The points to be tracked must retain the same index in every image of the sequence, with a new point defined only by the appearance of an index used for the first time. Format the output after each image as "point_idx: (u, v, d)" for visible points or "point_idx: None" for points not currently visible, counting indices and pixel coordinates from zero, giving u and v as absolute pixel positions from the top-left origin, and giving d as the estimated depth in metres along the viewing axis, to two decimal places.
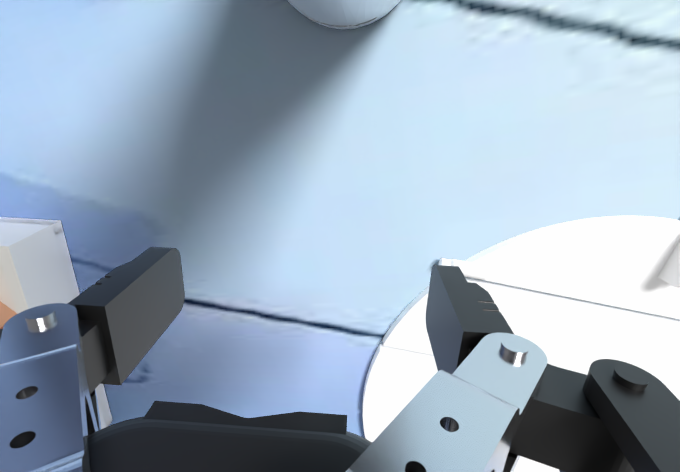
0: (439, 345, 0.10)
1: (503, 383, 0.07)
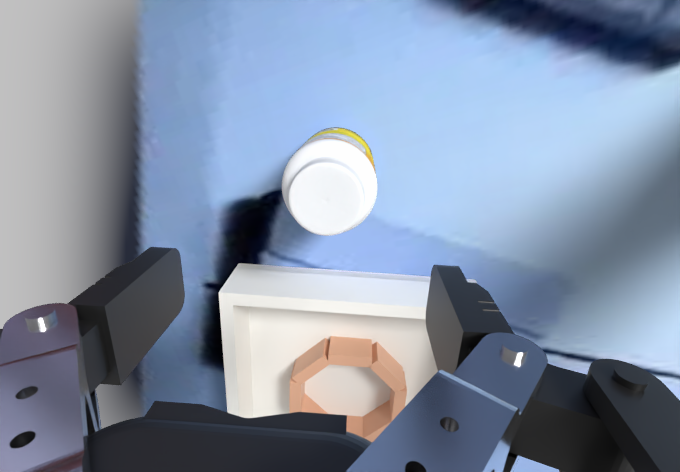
0: (439, 345, 0.10)
1: (503, 383, 0.07)
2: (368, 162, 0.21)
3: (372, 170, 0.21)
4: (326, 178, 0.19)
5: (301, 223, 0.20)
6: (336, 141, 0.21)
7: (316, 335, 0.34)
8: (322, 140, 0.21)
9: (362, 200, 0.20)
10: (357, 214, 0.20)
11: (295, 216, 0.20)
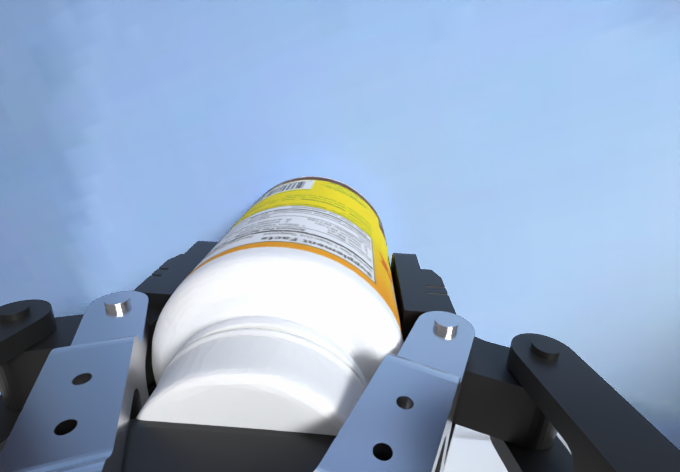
0: None
1: (442, 356, 0.07)
2: (383, 313, 0.08)
3: (394, 333, 0.08)
4: (244, 419, 0.06)
5: None
6: (291, 259, 0.07)
7: None
8: (252, 254, 0.07)
9: None
10: None
11: None
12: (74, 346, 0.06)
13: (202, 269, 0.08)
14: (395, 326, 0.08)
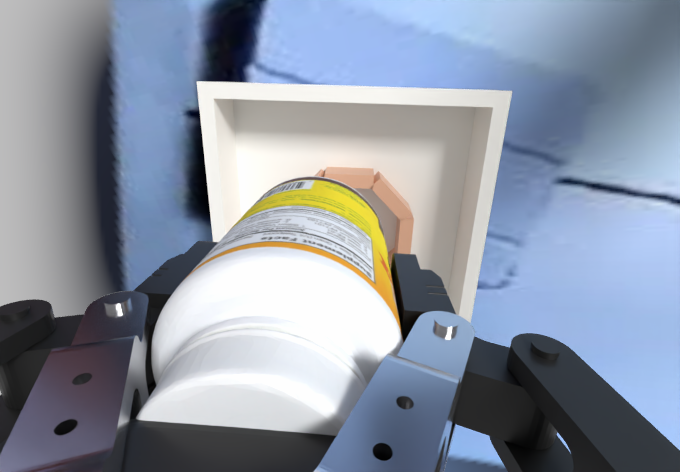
0: None
1: (442, 356, 0.07)
2: (382, 313, 0.08)
3: (393, 333, 0.08)
4: (243, 420, 0.06)
5: None
6: (290, 259, 0.07)
7: (311, 166, 0.30)
8: (251, 254, 0.07)
9: None
10: None
11: None
12: (74, 346, 0.06)
13: (202, 269, 0.08)
14: (395, 326, 0.08)
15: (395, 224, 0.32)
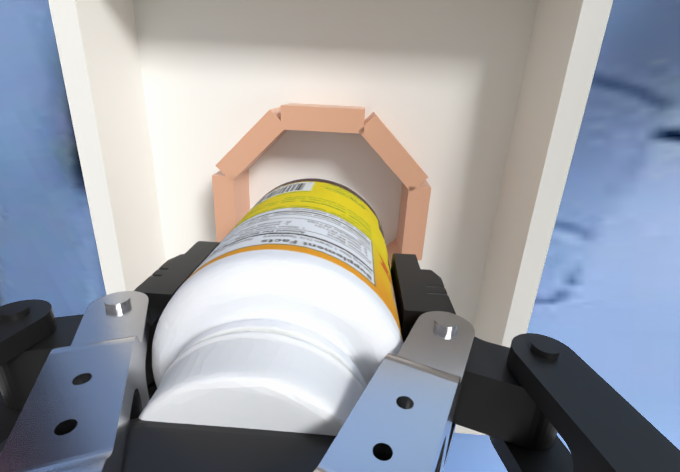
0: None
1: (442, 356, 0.07)
2: (383, 315, 0.08)
3: (394, 336, 0.08)
4: (244, 422, 0.06)
5: None
6: (291, 262, 0.07)
7: (264, 102, 0.19)
8: (252, 257, 0.07)
9: None
10: None
11: None
12: (74, 346, 0.06)
13: (202, 272, 0.08)
14: (395, 328, 0.08)
15: (399, 200, 0.20)
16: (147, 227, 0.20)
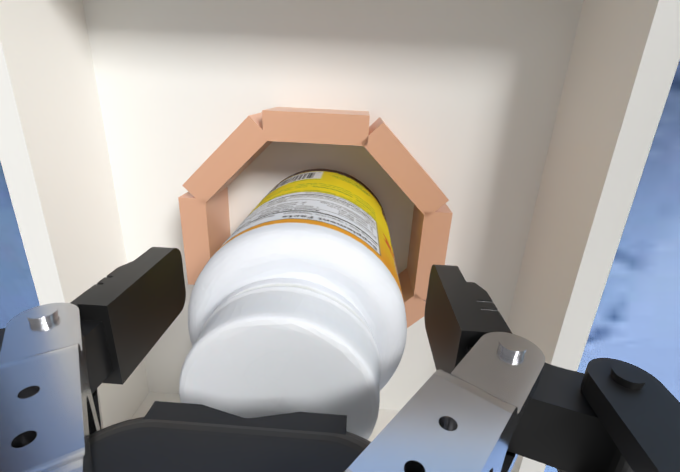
0: (438, 344, 0.10)
1: (501, 381, 0.07)
2: (387, 279, 0.09)
3: (397, 296, 0.09)
4: (276, 355, 0.07)
5: None
6: (309, 232, 0.09)
7: (245, 106, 0.15)
8: (276, 228, 0.09)
9: (376, 406, 0.07)
10: None
11: None
12: (8, 362, 0.06)
13: (233, 241, 0.09)
14: (397, 291, 0.09)
15: (409, 224, 0.17)
16: (105, 257, 0.16)
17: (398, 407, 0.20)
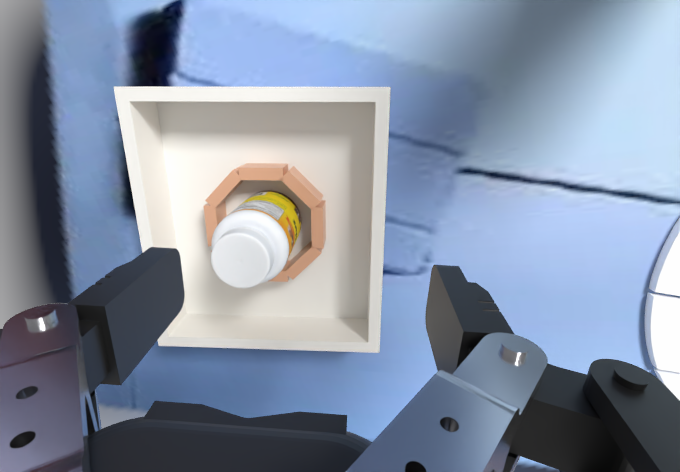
0: (439, 345, 0.10)
1: (503, 382, 0.07)
2: (278, 227, 0.27)
3: (281, 233, 0.27)
4: (238, 244, 0.25)
5: (223, 279, 0.26)
6: (250, 212, 0.27)
7: (232, 163, 0.33)
8: (240, 211, 0.27)
9: (268, 260, 0.25)
10: (265, 271, 0.25)
11: (217, 274, 0.26)
12: (6, 363, 0.06)
13: (226, 216, 0.27)
14: (282, 231, 0.27)
15: None
16: (167, 236, 0.34)
17: (320, 315, 0.38)
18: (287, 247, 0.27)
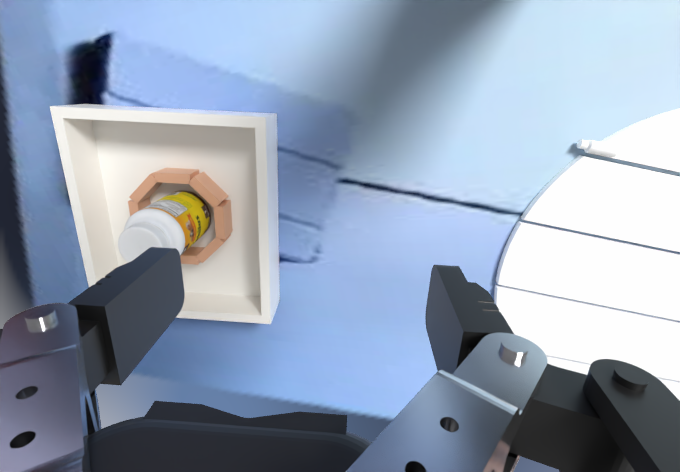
0: (439, 345, 0.10)
1: (503, 383, 0.07)
2: (174, 222, 0.35)
3: (177, 227, 0.35)
4: (137, 235, 0.33)
5: (128, 261, 0.34)
6: (152, 210, 0.34)
7: (154, 167, 0.41)
8: (145, 209, 0.35)
9: None
10: None
11: (123, 257, 0.34)
12: (6, 363, 0.06)
13: (134, 213, 0.35)
14: (178, 226, 0.35)
15: None
16: (102, 224, 0.42)
17: (231, 293, 0.46)
18: (182, 238, 0.35)
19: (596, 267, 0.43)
